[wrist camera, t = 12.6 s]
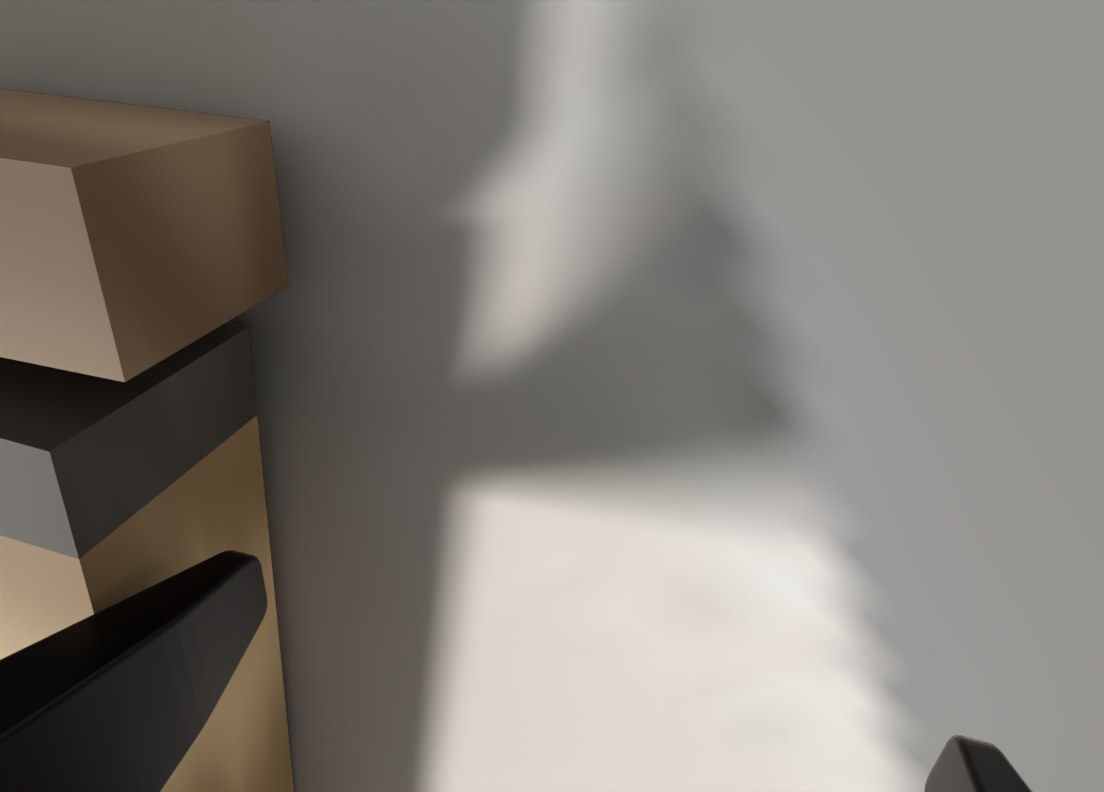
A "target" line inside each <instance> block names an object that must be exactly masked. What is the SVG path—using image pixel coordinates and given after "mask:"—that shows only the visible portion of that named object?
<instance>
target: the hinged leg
mask: <svg viewBox="0 0 1104 792" xmlns="http://www.w3.org/2000/svg"><path fill="white" fill-rule="evenodd" d="M227 550H235V551H239V552H243V553H247V554H251V555H254V556H256V557H257V558H258V559H259V560H260V562H261V566H262V572H263V577H264V583H265V588H266V594H267V600H268V603H267V610H266V614H265V616H264V619H263V621H262V623H261V625H260V626H259V628H258V630H257V632H256V634H255V636H254V637H253V639H252V641H251V643H250V645H249V647H248V648H247V650H246V652H245V654H244V656H243V658H242V659H241V661H240V663H239V665H238V667H237V669H236V670H235V672H234V674H233V676H232V678H231V680H230V681H229V683H228V685H227V687H226V689H225V691H224V692H223V694H222V696H221V698H220V700H219V702H218V703H217V705H216V707H215V709H214V711H213V712H212V714H211V716H210V717H209V719H208V721H207V723H206V724H205V726H204V727H203V729H202V731H201V732H200V734H199V735H198V737H197V738H196V740H195V741H194V743H193V744H192V746H191V747H190V749H189V750H188V752H187V753H186V755H185V756H184V758H183V759H182V761H181V762H180V764H179V765H178V767H177V768H176V769H175V771H174V772H173V774H172V775H171V777H170V778H169V780H168V781H167V783H166V784H165V786H164V787H163V789H162V790H161V792H294V784H293V774H292V764H291V754H290V744H289V733H288V723H287V713H286V703H285V693H284V683H283V672H282V662H281V652H280V642H279V632H278V622H277V611H276V601H275V591H274V581H273V571H272V560H271V550H270V540H269V530H268V520H267V510H266V499H265V489H264V479H263V469H262V459H261V448H260V438H259V428H258V418H257V408H256V398H255V387H254V377H253V367H252V357H251V347H250V337H249V327H246V326H242V325H237V324H233V323H229V322H226V323H224V324H223V325H221V326H219V327H218V328H216V329H214V330H213V331H211V332H209V333H208V334H206V335H204V336H202V337H201V338H199V339H197V340H196V341H194V342H192V343H191V344H189V345H187V346H186V347H184V348H182V349H180V350H179V351H177V352H175V353H174V354H172V355H170V356H169V357H167V358H165V359H164V360H162V361H160V362H158V363H157V364H155V365H153V366H152V367H150V368H148V369H147V370H145V371H143V372H142V373H140V374H138V375H137V376H135V377H133V378H131V379H130V380H128V381H126V382H121V381H116V380H111V379H106V378H101V377H96V376H91V375H86V374H82V373H77V372H72V371H67V370H62V369H57V368H52V367H47V366H42V365H37V364H32V363H27V362H22V361H17V360H13V359H8V358H3V357H0V660H1V659H3V658H5V657H7V656H9V655H11V654H13V653H15V652H17V651H19V650H21V649H23V648H25V647H27V646H29V645H31V644H33V643H36V642H38V641H40V640H42V639H44V638H46V637H48V636H50V635H52V634H54V633H56V632H58V631H60V630H62V629H64V628H66V627H68V626H70V625H73V624H75V623H77V622H79V621H81V620H83V619H85V618H87V617H89V616H91V615H93V614H95V613H97V612H99V611H101V610H103V609H105V608H108V607H110V606H112V605H114V604H116V603H118V602H120V601H122V600H124V599H126V598H128V597H130V596H132V595H134V594H136V593H138V592H140V591H142V590H145V589H147V588H149V587H151V586H153V585H155V584H157V583H159V582H161V581H163V580H165V579H167V578H169V577H171V576H173V575H175V574H177V573H179V572H182V571H184V570H186V569H188V568H190V567H192V566H194V565H196V564H198V563H200V562H202V561H204V560H206V559H208V558H210V557H212V556H214V555H216V554H219V553H221V552H223V551H227Z"/></svg>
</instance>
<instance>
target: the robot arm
mask: <svg viewBox="0 0 1104 792" xmlns="http://www.w3.org/2000/svg"><path fill="white" fill-rule="evenodd" d="M267 603H268V600H267V594H266V588H265V583H264V577H263V572H262V566H261V562H260V560H259V559H258V558H257V557H256V556H254V555H251V554H247V553H243V552H239V551H235V550H227V551H223V552H221V553H219V554H216V555H214V556H212V557H210V558H208V559H206V560H204V561H202V562H200V563H198V564H196V565H194V566H192V567H190V568H188V569H186V570H184V571H182V572H179V573H177V574H175V575H173V576H171V577H169V578H167V579H165V580H163V581H161V582H159V583H157V584H155V585H153V586H151V587H149V588H147V589H145V590H142V591H140V592H138V593H136V594H134V595H132V596H130V597H128V598H126V599H124V600H122V601H120V602H118V603H116V604H114V605H112V606H110V607H108V608H105V609H103V610H101V611H99V612H97V613H95V614H93V615H91V616H89V617H87V618H85V619H83V620H81V621H79V622H77V623H75V624H73V625H70V626H68V627H66V628H64V629H62V630H60V631H58V632H56V633H54V634H52V635H50V636H48V637H46V638H44V639H42V640H40V641H38V642H36V643H33V644H31V645H29V646H27V647H25V648H23V649H21V650H19V651H17V652H15V653H13V654H11V655H9V656H7V657H5V658H3V659H1V660H0V792H161V790H162V789H163V787H164V786H165V784H166V783H167V781H168V780H169V778H170V777H171V775H172V774H173V772H174V771H175V769H176V768H177V767H178V765H179V764H180V762H181V761H182V759H183V758H184V756H185V755H186V753H187V752H188V750H189V749H190V747H191V746H192V744H193V743H194V741H195V740H196V738H197V737H198V735H199V734H200V732H201V731H202V729H203V727H204V726H205V724H206V723H207V721H208V719H209V717H210V716H211V714H212V712H213V711H214V709H215V707H216V705H217V703H218V702H219V700H220V698H221V696H222V694H223V692H224V691H225V689H226V687H227V685H228V683H229V681H230V680H231V678H232V676H233V674H234V672H235V670H236V669H237V667H238V665H239V663H240V661H241V659H242V658H243V656H244V654H245V652H246V650H247V648H248V647H249V645H250V643H251V641H252V639H253V637H254V636H255V634H256V632H257V630H258V628H259V626H260V625H261V623H262V621H263V619H264V616H265V614H266V610H267ZM924 792H1032V791H1031V789H1030V788H1029V787H1028V785H1027V784H1026V783H1025V782H1024V780H1023V779H1022V778H1021V776H1020V775H1019V774H1018V772H1017V771H1016V770H1015V769H1014V767H1013V766H1012V765H1011V763H1010V762H1009V761H1008V760H1007V758H1006V757H1005V756H1004V754H1003V753H1002V752H1001V751H1000V750H999V749H998V748H997V747H996V746H994V745H993V744H991V743H988V742H985V741H981V740H977V739H973V738H968V737H965V736H961V735H955V736H953V737H951V738H950V739H949V740H948V742H947V743H946V745H945V747H944V748H943V750H942V752H941V754H940V756H939V758H938V759H937V761H936V763H935V765H934V766H933V768H932V770H931V772H930V774H929V776H928V778H927V781H926V784H925V791H924Z"/></svg>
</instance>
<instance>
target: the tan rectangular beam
mask: <svg viewBox="0 0 1104 792" xmlns="http://www.w3.org/2000/svg"><path fill="white" fill-rule="evenodd" d="M287 286H289V284H288V276H287V267H286V259H285V250H284V242H283V233H282V225H281V217H280V208H279V200H278V191H277V183H276V174H275V166H274V157H273V149H272V140H271V132H270V124H269V121H264V120H256V119H247V118H239V117H231V116H222V115H214V114H206V113H197V112H189V111H180V110H172V109H164V108H155V107H147V106H139V105H130V104H122V103H114V102H105V101H97V100H88V99H80V98H72V97H63V96H55V95H47V94H38V93H30V92H22V91H13V90H5V89H0V357H3V358H8V359H13V360H17V361H22V362H27V363H32V364H37V365H42V366H47V367H52V368H57V369H62V370H67V371H72V372H77V373H82V374H86V375H91V376H96V377H101V378H106V379H111V380H116V381H121V382H126V381H128V380H130V379H131V378H133V377H135V376H137V375H138V374H140V373H142V372H143V371H145V370H147V369H148V368H150V367H152V366H153V365H155V364H157V363H158V362H160V361H162V360H164V359H165V358H167V357H169V356H170V355H172V354H174V353H175V352H177V351H179V350H180V349H182V348H184V347H186V346H187V345H189V344H191V343H192V342H194V341H196V340H197V339H199V338H201V337H202V336H204V335H206V334H208V333H209V332H211V331H213V330H214V329H216V328H218V327H219V326H221V325H223V324H224V323H226V322H228V321H230V320H231V319H233V318H235V317H236V316H238V315H240V314H241V313H243V312H245V311H246V310H248V309H250V308H251V307H253V306H255V305H257V304H258V303H260V302H262V301H263V300H265V299H267V298H268V297H270V296H272V295H273V294H275V293H277V292H279V291H280V290H282V289H284V288H285V287H287Z"/></svg>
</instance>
